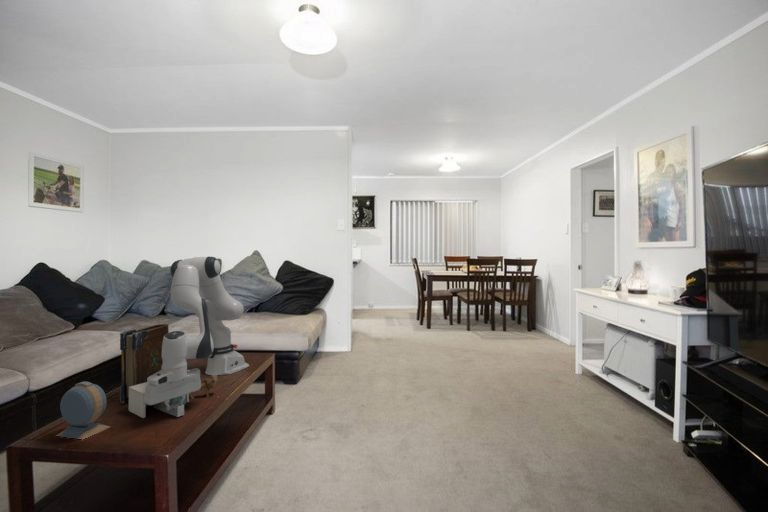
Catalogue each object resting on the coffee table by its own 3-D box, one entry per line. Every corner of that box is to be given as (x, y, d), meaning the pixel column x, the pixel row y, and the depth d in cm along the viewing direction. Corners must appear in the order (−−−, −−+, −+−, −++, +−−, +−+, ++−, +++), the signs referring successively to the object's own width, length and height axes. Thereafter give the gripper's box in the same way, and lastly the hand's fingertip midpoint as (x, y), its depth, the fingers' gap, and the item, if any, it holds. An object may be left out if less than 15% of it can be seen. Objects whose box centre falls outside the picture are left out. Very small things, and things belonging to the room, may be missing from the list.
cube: (179, 401, 154) (179, 389, 154) (185, 403, 152) (185, 392, 152) (167, 405, 150) (167, 393, 150) (173, 408, 147) (173, 396, 147)
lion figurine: (218, 391, 165) (218, 372, 165) (217, 396, 160) (217, 376, 160) (181, 396, 159) (181, 376, 159) (180, 401, 154) (180, 380, 154)
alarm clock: (112, 427, 131) (112, 379, 131) (85, 440, 121) (85, 388, 121) (82, 423, 134) (82, 376, 134) (53, 436, 124) (53, 385, 125)
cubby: (174, 396, 160) (174, 374, 160) (189, 402, 153) (189, 379, 153) (128, 410, 145) (128, 386, 145) (142, 418, 138) (142, 393, 138)
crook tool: (172, 401, 154) (172, 392, 154) (196, 410, 144) (196, 400, 144) (153, 408, 147) (153, 398, 147) (177, 417, 138) (177, 406, 138)
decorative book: (136, 403, 152) (136, 333, 152) (120, 402, 153) (120, 333, 153) (171, 383, 176) (171, 323, 176) (157, 383, 176) (157, 322, 176)
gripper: (195, 365, 152) (195, 397, 152) (142, 379, 135) (142, 415, 135) (204, 367, 149) (204, 401, 148) (150, 382, 131) (150, 419, 131)
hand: (174, 408), depth 141 cm, fingers closed on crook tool, 3 cm apart
